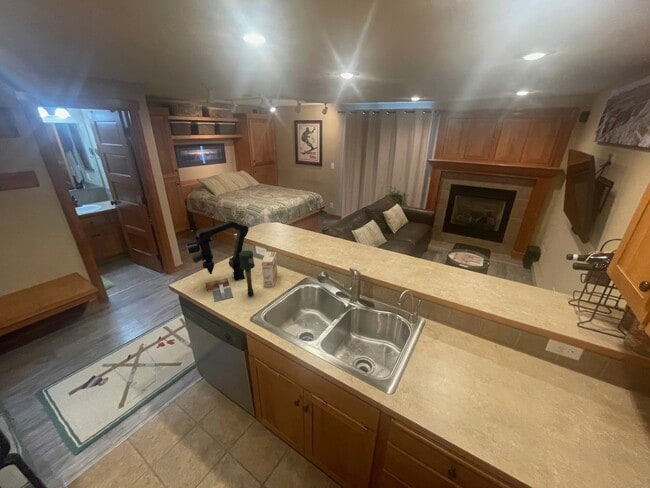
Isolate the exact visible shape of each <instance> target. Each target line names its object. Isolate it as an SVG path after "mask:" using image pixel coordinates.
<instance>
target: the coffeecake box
mask: <svg viewBox="0 0 650 488" xmlns="http://www.w3.org/2000/svg"><path fill="white" fill-rule="evenodd" d="M261 267H262V268H261V269H262V279H263V282H262V283H263V288H275V285H276V282H277V279H278V277H279V276H278V275H279V274H278V260H277V251H266V253H265V254H264V257H263V258H262V260H261Z"/></svg>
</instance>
